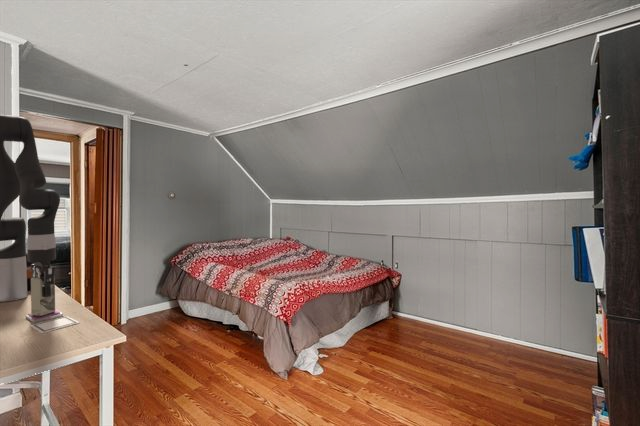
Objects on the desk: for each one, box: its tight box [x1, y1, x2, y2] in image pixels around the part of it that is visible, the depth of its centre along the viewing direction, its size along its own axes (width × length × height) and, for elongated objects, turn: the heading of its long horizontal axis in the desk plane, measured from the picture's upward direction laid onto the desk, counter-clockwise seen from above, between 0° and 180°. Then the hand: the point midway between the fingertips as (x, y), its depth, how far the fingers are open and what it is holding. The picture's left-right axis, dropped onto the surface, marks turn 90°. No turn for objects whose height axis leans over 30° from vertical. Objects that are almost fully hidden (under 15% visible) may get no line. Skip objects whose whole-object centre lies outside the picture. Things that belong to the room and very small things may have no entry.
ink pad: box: [25, 309, 64, 324], centre depth 114 cm, size 8×8×1 cm
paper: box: [30, 315, 80, 334], centre depth 107 cm, size 10×10×1 cm
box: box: [30, 275, 56, 316], centre depth 113 cm, size 5×4×13 cm
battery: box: [27, 267, 32, 292], centre depth 147 cm, size 4×7×10 cm, turn 143°
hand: (43, 295), depth 113 cm, fingers closed on box, 5 cm apart
